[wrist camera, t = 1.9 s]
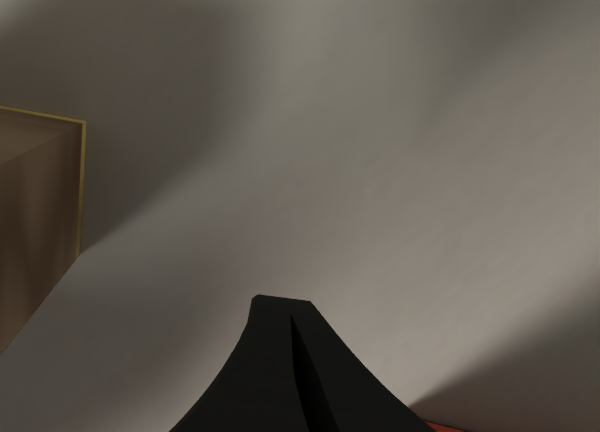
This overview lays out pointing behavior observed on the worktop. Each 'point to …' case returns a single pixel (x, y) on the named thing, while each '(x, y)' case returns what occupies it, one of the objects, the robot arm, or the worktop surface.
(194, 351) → the worktop surface
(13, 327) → the brown wooden block
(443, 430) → the cracker box
